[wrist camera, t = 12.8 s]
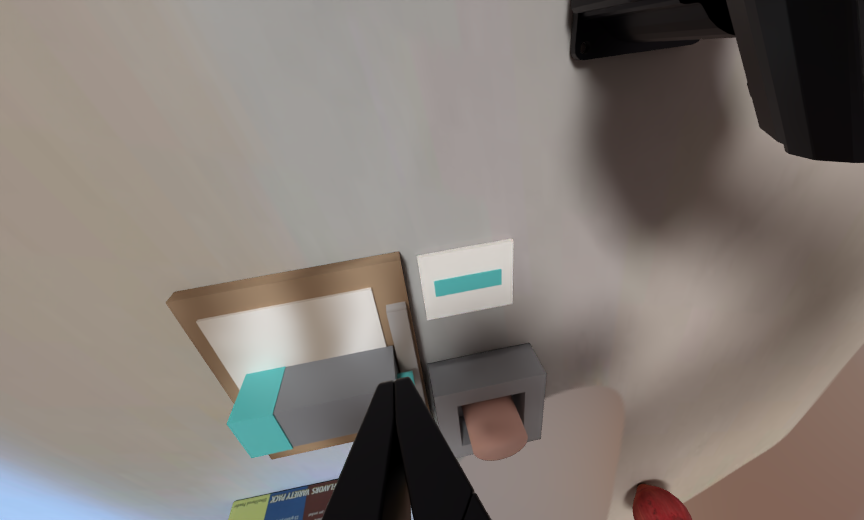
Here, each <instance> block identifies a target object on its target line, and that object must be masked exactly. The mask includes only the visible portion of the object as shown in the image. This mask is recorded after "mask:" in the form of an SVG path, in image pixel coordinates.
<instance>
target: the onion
mask: <svg viewBox="0 0 864 520" xmlns="http://www.w3.org/2000/svg"><path fill="white" fill-rule="evenodd" d="M632 508H633V516H634V519H635V520H692V518H691V515H690V514H689V512H688V510H687V508H686V507H685V506H684V505H683V503H682V502H681V501H680V500H679V499H678V498H676V497H675V496H674V495H672V494H671V493H670V492H668V491H667V490H664V489H662V488H660V487H656V486H652V485H647V484H640V485H638V487H637V491H636V495H635V498H634V502H633V507H632Z"/></svg>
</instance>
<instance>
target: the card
mask: <svg viewBox="0 0 864 520" xmlns="http://www.w3.org/2000/svg"><path fill="white" fill-rule="evenodd" d="M417 261H418V267H419V273H420V279H421V285H422V292H423V298H424V304H425V310H426V316H427V320H432V319H437V318H442V317H447V316H453V315H458V314H463V313H468V312H473V311H478V310H483V309H488V308H493V307H499V306H504V305H509V304H513V240H512V238H511V239H505V240H500V241H494V242H489V243H483V244H478V245H472V246H467V247H461V248H456V249H450V250H445V251H439V252H434V253H428V254H423V255H417Z"/></svg>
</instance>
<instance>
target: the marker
mask: <svg viewBox="0 0 864 520" xmlns="http://www.w3.org/2000/svg"><path fill="white" fill-rule="evenodd" d="M403 377H410V378H411V380H412V381H413V383H414V385H415V381H414V375H413V371H407V372H402V373H399V369H398V365H397V361H396V357H395V353H394V349H393V345H392V346H387V347H382V348H378V349H373V350H368V351H363V352H358V353H353V354H348V355H343V356H338V357H333V358H328V359H323V360H318V361H313V362H308V363H303V364H298V365H293V366H288V367H280V368H275V369H270V370H265V371H260V372H255V373H250V374H246V376H245V378H244V381H243V383H242V386H241V388H240V391H239V394H238V396H237V399H236V401H235V404H234V406H233V409H232V412H231V414H230V417H229V419H228V422H227V425H228V427H229V428H230V429H231V431H232V432H233V434H234V435H235V436H236V438H237V439H238V440H239V442H240V443H241V444H242V446H243V447H244V449H245V450H246V451H247V453H248V454H249V455H250V457H251V458H254V457H259V456H263V455H268V454H273V453H277V452H282V451H286V450H291V449H293V447H295V446H300V445H305V444H309V443H314V442H318V441H323V440H328V439H332V438H337V437H341V436H346V435H351V434H355V433H358V431H359V428H360V426H361V424H362V421H363V419H364V416H365V414H366V412H367V409H368V407H369V404H370V402H371V400H372V397H373V395H374V392H375V390H376V388H377V386H378V384H379V383H381V382H385V381H390V380H393V381H394V382H395V380H396V379H399V378H403Z"/></svg>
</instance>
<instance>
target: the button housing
mask: <svg viewBox="0 0 864 520" xmlns="http://www.w3.org/2000/svg"><path fill="white" fill-rule="evenodd" d="M428 369H429V374H430V380H431V385H432V391H433V396H434V402H435V408H436V413H437V419H438V424H439V429H440V431H441V433H442V434H443V436H444V438H445V440H446V441H447V443H448V445H449V447H450V448H451V450H452V452H453V454H454V456H455V457H456V458H458V457H463V456H467V455H471V454H474V453H473V450H472V446H471V442H470V438H469V434H468V431H467V427H466V423H465V419H464V415H463V411H462V408H461V406H462V405H467V404H472V403H476V402H481V401H485V400H490V399H495V398H499V397H504V396H509V395H511V397H512V399H513V401H514V404H515V406H516V409H517V411H518V413H519V416H520V418H521V421H522V423H523V425H524V428H525V430H526V433H527V435H528V440H527V442H529V441H533V440H538V439H541V430H542V418H543V408H544V397H545V386H546V375H547V373H546V372H545V370H544V368H543V366H542V364H541V363H540V361H539V359H538V357H537V355H536V354H535V352H534V350H533V348H532V346H531V345H530V343H527V344H522V345H517V346H512V347H507V348H502V349H498V350H493V351H488V352H483V353H478V354H473V355H468V356H463V357H459V358H454V359H449V360H444V361H439V362H434V363H429V364H428Z"/></svg>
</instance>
